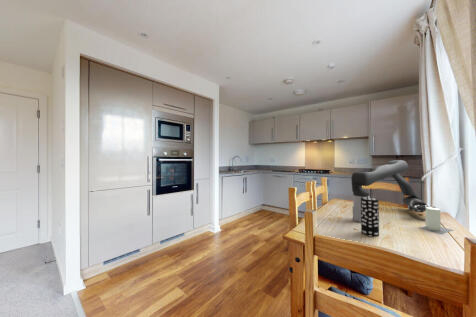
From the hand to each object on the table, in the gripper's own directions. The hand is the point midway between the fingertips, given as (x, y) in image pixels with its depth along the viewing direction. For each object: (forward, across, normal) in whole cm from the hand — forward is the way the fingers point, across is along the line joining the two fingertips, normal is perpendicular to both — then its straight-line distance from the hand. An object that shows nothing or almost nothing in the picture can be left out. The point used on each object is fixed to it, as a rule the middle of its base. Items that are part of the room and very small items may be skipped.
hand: (426, 211), depth 123 cm
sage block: (+12, 0, +7) cm, 14 cm away
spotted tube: (+35, -33, +8) cm, 49 cm away
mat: (+11, +1, +8) cm, 14 cm away
